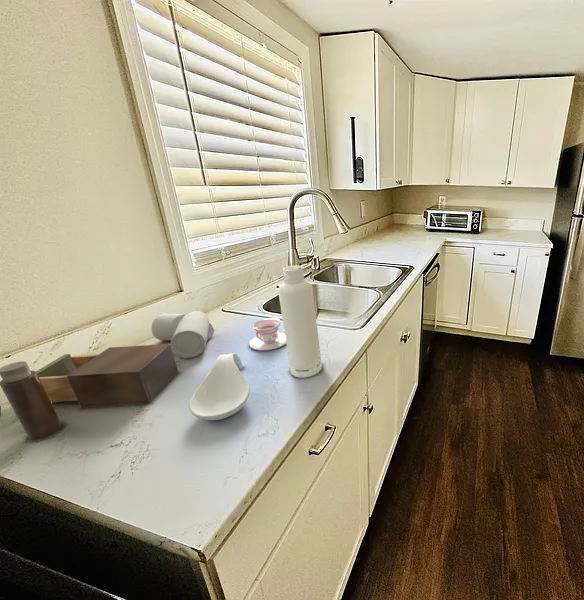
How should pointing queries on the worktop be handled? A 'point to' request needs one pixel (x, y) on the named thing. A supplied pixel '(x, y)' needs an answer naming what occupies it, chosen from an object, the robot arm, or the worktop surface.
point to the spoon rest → (221, 390)
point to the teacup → (267, 335)
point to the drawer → (61, 376)
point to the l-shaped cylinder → (184, 332)
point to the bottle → (299, 322)
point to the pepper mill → (29, 400)
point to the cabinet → (124, 376)
